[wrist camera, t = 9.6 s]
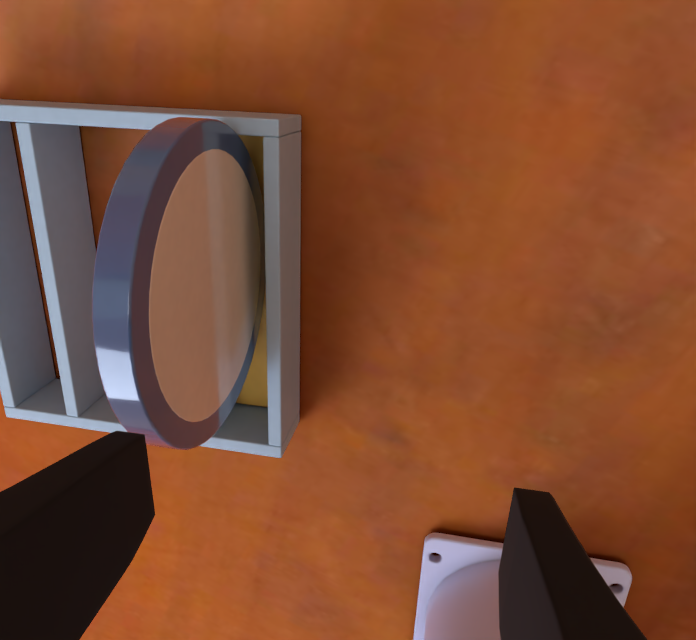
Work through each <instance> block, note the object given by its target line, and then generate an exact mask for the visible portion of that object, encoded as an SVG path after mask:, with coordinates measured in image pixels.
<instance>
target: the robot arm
mask: <svg viewBox="0 0 696 640" xmlns="http://www.w3.org/2000/svg"><path fill="white" fill-rule="evenodd" d="M154 516H155V511H154V503H153V495H152V487H151V480H150V472H149V464H148V456H147V449H146V441H145V434H138V433H131V432H124V431H115V432H112V433H110V434H108V435H106V436H104V437H102V438H100V439H98V440H96V441H94V442H92V443H91V444H89V445H87V446H85V447H83V448H81V449H79V450H78V451H76V452H74V453H72V454H70V455H69V456H67V457H65V458H63V459H61V460H59V461H58V462H56V463H54V464H52V465H50V466H48V467H47V468H45V469H43V470H41V471H39V472H37V473H36V474H34V475H32V476H30V477H28V478H26V479H25V480H23V481H21V482H19V483H17V484H15V485H13V486H12V487H10V488H8V489H6V490H4V491H2V492H0V640H79V639H80V638H81V636H82V635H83V633H84V632H85V630H86V629H87V627H88V626H89V625H90V623H91V622H92V620H93V619H94V617H95V616H96V614H97V613H98V611H99V610H100V608H101V607H102V605H103V604H104V602H105V601H106V599H107V598H108V596H109V595H110V593H111V592H112V590H113V589H114V587H115V586H116V584H117V583H118V581H119V580H120V578H121V577H122V575H123V574H124V572H125V571H126V569H127V568H128V566H129V565H130V563H131V561H132V560H133V558H134V556H135V554H136V552H137V550H138V548H139V546H140V544H141V542H142V541H143V538H144V536H145V534H146V532H147V530H148V528H149V526H150V524H151V522H152V520H153V518H154ZM431 553H438V554H440V555H432V554H431ZM631 582H632V575H631V572H630V569H629V568H628V566H626V565H625V564H623V563H620V562H614V561H608V560H602V559H596V558H590V557H589V556H588V555H587V553H586V551H585V550H584V548H583V547H582V545H581V543H580V542H579V540H578V539H577V537H576V535H575V534H574V532H573V530H572V529H571V527H570V525H569V524H568V522H567V520H566V519H565V517H564V515H563V513H562V512H561V510H560V508H559V506H558V505H557V503H556V501H555V499H554V498H553V497H552V495H551V494H550V493H549V492H542V491H535V490H528V489H521V488H514V491H513V496H512V502H511V507H510V512H509V518H508V523H507V528H506V534H505V539H504V543H498V542H492V541H486V540H480V539H474V538H468V537H462V536H456V535H449V534H443V533H430V534H428V535H427V536H426V538H425V540H424V549H423V558H422V567H421V575H420V584H419V593H418V602H417V610H416V619H415V628H414V637H413V640H647V639H646V637H645V636H644V635H643V633H642V632H641V631H640V629H639V628H638V627H637V625H636V624H635V623H634V621H633V620H632V619H631V617H630V616H629V615H628V613H627V612H626V610H625V609H624V605H625V602H626V599H627V595H628V592H629V589H630V585H631ZM611 584H618V585H616V586H612V585H611Z"/></svg>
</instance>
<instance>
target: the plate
mask: <svg viewBox="0 0 696 640" xmlns="http://www.w3.org/2000/svg"><path fill="white" fill-rule="evenodd" d="M265 283H266V277H265V223H264V207H263V201H262V195H261V190H260V185H259V181H258V177H257V173H256V170H255V167H254V164H253V161H252V159H251V157H250V154H249V152H248V150H247V148H246V146H245V144H244V143H243V141H242V139H241V138H240V137H239V135H238V134H237V133H236V132H235V131H234V130H233V129H232V128H231V127H230V126H229V125H227V124H225V123H223V122H221V121H219V120H217V119H209V118H191V117H177V118H171V119H168V120H166V121H164V122H162V123H160V124H158V125H156V126H155V127H154V128H152V129H151V130H150V131H149V132H148V133H146V134H145V135H144V136H143V138H142V139H141V140H140V141H139V142H138V144H137V145H136V146H135V147H134V149H133V150H132V152H131V153H130V155H129V157H128V158H127V160H126V161H125V163H124V165H123V167H122V169H121V171H120V173H119V176H118V178H117V180H116V182H115V184H114V187H113V190H112V192H111V195H110V198H109V201H108V204H107V207H106V210H105V214H104V218H103V222H102V226H101V230H100V234H99V239H98V245H97V251H96V257H95V265H94V276H93V288H92V324H93V337H94V347H95V353H96V359H97V365H98V370H99V374H100V378H101V381H102V385H103V389H104V392H105V394H106V397H107V399H108V401H109V404H110V406H111V409H112V410H113V412H114V414H115V415H116V417H117V419H118V421H119V422H120V424H121V425H122V426H123V427H124V428H125V429H126V430H127V432H131V433H138V434H145V441H146V444H148V445H152V446H159V447H165V448H172V449H180V450H188V449H192V448H195V447H198V446H200V445H201V444H203V443H205V442H206V441H208V440H209V439H210V438H211V437H212V436H213V435H214V434H215V433H216V432H217V431H218V430H219V428H220V427H221V426H222V425H223V423H224V422H225V420H226V419H227V417H228V416H229V414H230V412H231V410H232V409H233V407H234V405H235V403H236V401H237V399H238V397H239V394H240V392H241V390H242V387H243V385H244V382H245V380H246V377H247V374H248V371H249V368H250V365H251V362H252V358H253V354H254V351H255V347H256V342H257V338H258V333H259V328H260V323H261V317H262V310H263V303H264V294H265Z"/></svg>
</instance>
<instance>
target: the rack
mask: <svg viewBox="0 0 696 640" xmlns="http://www.w3.org/2000/svg"><path fill="white" fill-rule="evenodd" d="M177 117H191V118H209V119H217V120H219V121H221V122H223V123H225V124H227V125H229V126H230V127H231V128H232V129H233V130H234V131H235V132H236V133H237V134H238V135H239V137H240V138H241V139H242V141H243V143H244V144H245V146H246V148H247V150H248V152H249V154H250V157H251V159H252V161H253V164H254V167H255V170H256V173H257V177H258V181H259V185H260V190H261V195H262V201H263V207H264V223H265V277H266V283H265V294H264V303H263V310H262V317H261V323H260V328H259V333H258V338H257V342H256V347H255V351H254V354H253V358H252V362H251V365H250V368H249V371H248V374H247V377H246V380H245V382H244V385H243V387H242V390H241V392H240V394H239V397H238V399H237V401H236V403H235V405H234V407H233V409H232V410H231V412H230V414H229V416H228V417H227V419H226V420H225V422H224V423H223V425H222V426H221V427H220V428H219V430H218V431H217V432H216V433H215V434H214V435H213V436H212V437H211V438H210V439H209V440H208V441H206V442H205V443H203V444H201V445H200V446H204V447H210V448H217V449H224V450H230V451H237V452H244V453H250V454H257V455H263V456H270V457H277V458H282V456H283V454H284V452H285V450H286V448H287V446H288V444H289V442H290V440H291V438H292V436H293V434H294V432H295V429H296V427H297V425H298V423H299V420H300V413H299V411H300V249H301V131H300V130H301V115H298V114H279V113H260V112H241V111H221V110H202V109H183V108H164V107H144V106H125V105H106V104H87V103H67V102H48V101H29V100H10V99H0V391H1V395H2V400H3V404H4V406H5V407H4V408H5V413H6V416H7V417H11V418H17V419H24V420H31V421H37V422H44V423H51V424H57V425H64V426H70V427H77V428H84V429H90V430H97V431H104V432H110V433H112V432H115V431H124V432H127V430H126V429H125V428H124V427H123V426H122V425H121V424H120V422H119V421H118V419H117V417H116V415H115V414H114V412H113V410H112V409H111V406H110V404H109V401H108V399H107V397H106V394H105V392H104V389H103V385H102V381H101V378H100V374H99V370H98V365H97V359H96V353H95V347H94V337H93V324H92V288H93V276H94V265H95V257H96V248H95V241H94V234H93V226H92V219H91V211H90V204H89V197H88V189H87V182H86V175H85V167H84V160H83V152H82V145H81V138H80V130H79V126H94V127H111V128H128V129H145V130H151V129H152V128H154V127H155V126H156V125H158V124H160V123H162V122H164V121H166V120H168V119H171V118H177ZM10 122H16V129H17V135H18V140H19V146H20V152H21V157H22V163H23V169H24V175H25V180H26V186H27V192H28V197H29V203H30V209H31V214H32V220H33V226H34V231H35V237H36V243H37V248H38V254H39V260H40V266H41V271H42V277H43V283H44V288H45V294H46V300H47V305H48V311H49V317H50V322H51V328H52V334H53V340H54V345H55V351H56V357H57V362H58V368H59V374H60V379H56V376H55V370H54V364H53V359H52V353H51V348H50V342H49V336H48V331H47V325H46V320H45V314H44V308H43V303H42V297H41V292H40V286H39V281H38V275H37V269H36V264H35V258H34V253H33V247H32V241H31V236H30V230H29V225H28V219H27V214H26V208H25V202H24V197H23V191H22V186H21V180H20V174H19V169H18V163H17V158H16V152H15V147H14V141H13V135H12V130H11V124H10ZM239 403H241V404H239ZM246 404H249V405H246ZM254 405H256V406H254ZM261 406H263V407H261Z"/></svg>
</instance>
